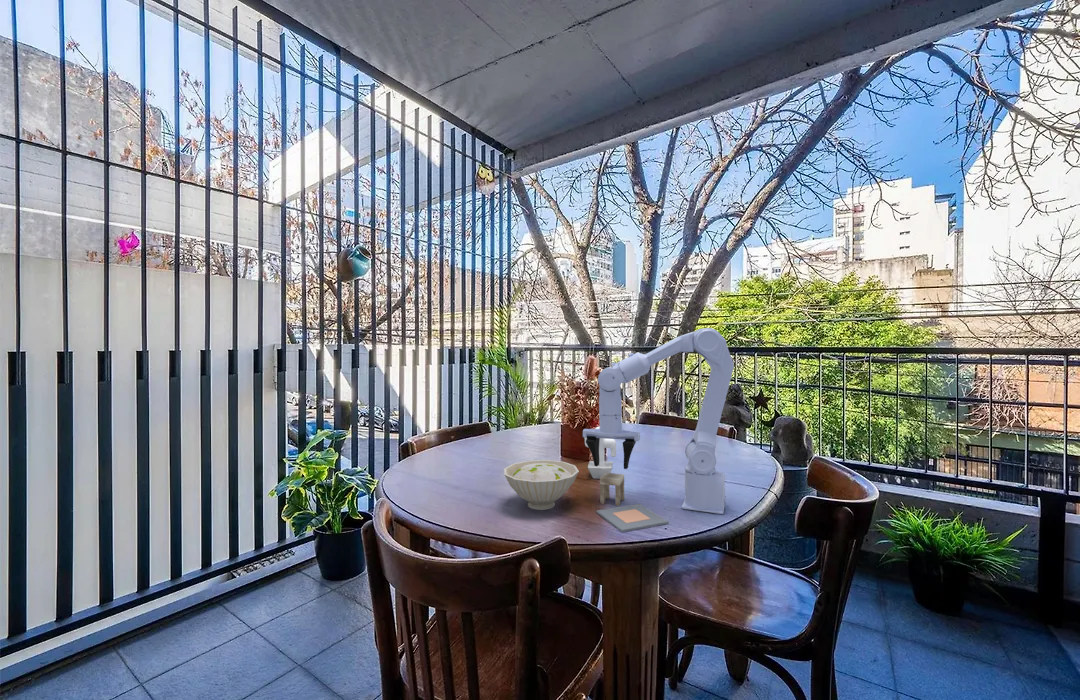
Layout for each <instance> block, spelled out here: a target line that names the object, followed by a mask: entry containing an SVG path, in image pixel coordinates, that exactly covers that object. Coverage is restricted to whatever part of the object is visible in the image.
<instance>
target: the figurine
mask: <svg viewBox="0 0 1080 700" xmlns="http://www.w3.org/2000/svg"><path fill="white" fill-rule="evenodd" d="M594 429H600V426H596V427H595V428H594ZM586 440H587V438H584V445H585V447H586V448H589V447H588V445H587V444H586ZM605 449H610V456H611V457H612V458H615V457H616V456H617V441H616V439H607V438H600V441H599V465H598V466H595V465H594V460H590V461H589V462H588V466H587V469H588V472H589V473H590V475H591V477H592V479H594V480H596V479H598V480H600V477H601V476H603V475H604V474H605V473H612V470H613V463H614V461H605Z"/></svg>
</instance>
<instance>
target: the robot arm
mask: <svg viewBox="0 0 1080 700" xmlns="http://www.w3.org/2000/svg"><path fill="white" fill-rule="evenodd" d="M694 351H695V352H696V353H697V354H698V355H700V356H702V357H703V359H704V360H705V362H706V363H707V364H708V366H709V367H710V373H709V376H708V380H707V385H706V388H705V393H704V396H703V400H702V403H701V408H700V410H699V411H700V412H699V416H698V420H697V424H696V427H695V429H694V432H693V434H692V438H691V440H690V441H688V443H687V444H686V446H685V449H684V453H685V456H686V458H687V460H688V461H687V464H686V465H685V466H684V491H685V492H684V500H683V502H682V504H681V509H684V510H689V511H697V512H705V513H712V514H713V513H714V514H720V515H723V514H724V513H725V505H726V503H727V496H725V495H726V492H725V491H726V488H725V486H726V484H725V483H726V482H725V479H726V478H725V473H724V472H720V471H717V470H716V468H715V467H716V466H717V458H716V449H717V435H718V434H717V433H718V431H719V425H720V422H721V419H722V414H723V412H724V411H723V410H724V407H725V402H726V398H727V395H728V392H729V391H728V390H729V387H730V383H731V379H732V375H733V371H734V367H735V364H734V361H733V358H732V355H731V353H730V350H729V348H728V344H727V340H726V339H725V338H724V336H723V335H722V334H721V333H720V332H719V330H716V329H714V328H712V327H705V328H699V329H696V330H695V331H692V332H688V333H685V334H682V335H679V336H677V337H675V338H673V339H671V340H669V341H668V342H666V343H664V344H662V345H660V346H658V347H656V348H655V349H653V350H651V351H649V352H647V353H642V352H636V353H634V352H630V353H628V357H625V358H624V359H621V360H620V361H618V362H615V361H614V362H612V363H611V366H612V367H610V366H609V367H608V366H607V367H606V368H604V369H602V371H600V372H599V375H598V377H597V382H598V385H599V389H598V391H599V392H598V393H599V396H598V405H599V406H598V411H599V414H598V415H599V420H598V421H599V427H600V429H595V428H584V429H583V430H582V438H584V439H585V438H587V440H586V444H587V445H588V447H587V448H588V449H589V451H590V453H591V457H592V461H594V465H595V466H598V465H599V441H600V438H605V439H614V440H620V441H621V440H623V442H622V448H623V469H624V470H628V468H629V465H630V464H629V463H630V459H631V456H632V452H633V449H634V447H635V445H636V444H637V443H636V442H640V439H641V437H640V436H641V435H640V434H641V432H639V431H631V430H624V429H623V418H622V417H623V415H622V413H623V412H622V409H623V407H622V404H623V403H622V394H621V385H622V384H629V383H630V382H632V381H634V380H636V379H638V378H640V377H642V376H644V375H646V374H648V373H649V371H650V369H651V366H652V365H655V364H656V363H659V362H661V361H663V360H666V359H668V358H669V357H672V356H675V355H677V354H678V353H695V352H694Z"/></svg>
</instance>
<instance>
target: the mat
mask: <svg viewBox="0 0 1080 700" xmlns="http://www.w3.org/2000/svg"><path fill="white" fill-rule="evenodd" d="M596 514H597V515H599V516H600V517H601V518H602V519H603V520H605V521H607V523H609V524H610V525H611V526H613V528H615V529H616V530H618V531H619V532H621V533H625V532H626V533H627V532H632V531H637V530H643V529H649V528H652V527H658V526H664V525H665V526H666V525H669V521H668V520H667V519H665V518H663V517H662V516H661V515H659V514H657V513H655V512H653V511H652V510H650V509H649V508H647V507H645V506H643V504H640V503H635V504H629V505H625V506H624V505H623V506H617V507H616V506H615V507H612V508H611V507H610V508H606V509H605V508H604V509H600V510H596Z"/></svg>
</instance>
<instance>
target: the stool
mask: <svg viewBox="0 0 1080 700" xmlns="http://www.w3.org/2000/svg"><path fill="white" fill-rule="evenodd" d="M610 486H614V487H615V488H614V490H615V496H614V497H615V507H616V506H617V507H621V501H623V502H624V501H625V474H623V473H622V474H621V473H613V472H611V473H605V474H604V475H603V476H601V477H600V479H599V499H600V500H599V501H600V502H599V503H600V504H603V505H604V504H605V503H606V499H610V498H611V497H610V495H611V493H610Z"/></svg>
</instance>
